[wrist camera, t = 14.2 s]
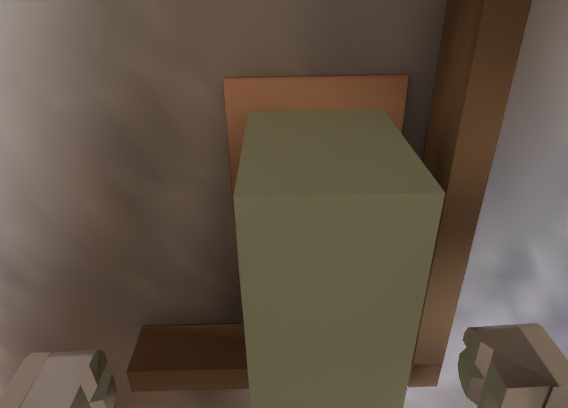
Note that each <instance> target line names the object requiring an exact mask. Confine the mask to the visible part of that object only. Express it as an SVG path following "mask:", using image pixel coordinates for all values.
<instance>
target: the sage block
mask: <svg viewBox="0 0 568 408" xmlns="http://www.w3.org/2000/svg"><path fill="white" fill-rule="evenodd" d="M444 196H445V192H444V190H443V189H442V188H441V186H440V185H439V184H438V182H437V181H436V180H435V178H434V177H433V176H432V174H431V173H430V172H429V170H428V169H427V168H426V166H425V165H424V164H423V162H422V161H421V159H420V158H419V157H418V155H417V154H416V153H415V151H414V150H413V149H412V147H411V146H410V145H409V143H408V142H407V141H406V139H405V138H404V137H403V135H402V134H401V133H400V131H399V130H398V128H397V127H396V126H395V124H394V123H393V122H392V120H391V119H390V118H389V116H388V115H387V114H386V112H385V111H384V110H383V108H380V109H329V110H277V111H248V116H247V121H246V127H245V133H244V139H243V145H242V151H241V156H240V162H239V168H238V174H237V180H236V186H235V191H234V210H235V222H236V234H237V246H238V258H239V271H240V283H241V295H242V307H243V319H244V332H245V344H246V356H247V368H248V380H249V392H250V405H251V408H403V405H404V400H405V395H406V390H407V385H408V380H409V375H410V369H411V364H412V359H413V354H414V349H415V344H416V339H417V334H418V329H419V324H420V319H421V313H422V308H423V303H424V298H425V293H426V288H427V283H428V278H429V273H430V268H431V263H432V257H433V252H434V247H435V242H436V237H437V232H438V227H439V222H440V217H441V212H442V207H443V201H444Z"/></svg>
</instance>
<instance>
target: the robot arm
mask: <svg viewBox="0 0 568 408" xmlns="http://www.w3.org/2000/svg"><path fill="white" fill-rule="evenodd" d="M463 341H464V343H465V345H466V347H467V348H466V349H465V350H463V351H462V352H461V353H460V355H459V361H458V371H459V378H460V382H461V385H462V388H463V390H464V392H465V394H466V397H467V398H469V399H470V400H471V401H473V402H474V403H475V404H476V405H478V407H477V408H568V360H567V358H566V357H565V356H564V355H563V353H562V352H561V351H560V349H559V348H558V347H557V345H556V344H555V343H554V341H553V340H552V339H551V338H550V336H549V335H548V334H547V332H546V331H545V330H544V328H543V327H542V326H540V325H539V324H537V323H530V324H515V325H497V326H483V327H469V328H468V329H467V330H466V331H465V334H464V338H463ZM106 363H107V359H106V357H105V354H104V352H103V351H100V350H88V351H58V352H40V353H31V354H30V355H28V356H27V357H26V358H25V359H24V360H23V362H22V363H21V365H20V367H19V368H18V370H17V371H16V373H15V375H14V376H13V378H12V380H11V381H10V383H9V384H8V386H7V388H6V389H5V391H4V393H3V394H2V396H1V397H0V408H114V404H115V396H116V388H115V381H114V378H113V375H112V374H111V373H109V372H108V371H106V370H105V369H104V368H105V366H106Z"/></svg>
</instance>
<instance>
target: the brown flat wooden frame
mask: <svg viewBox="0 0 568 408" xmlns="http://www.w3.org/2000/svg"><path fill="white" fill-rule="evenodd" d="M531 2H532V0H448V4H447V11H446V17H445V23H444V29H443V36H442V42H441V48H440V55H439V61H438V67H437V74H436V80H435V86H434V92H433V99H432V105H431V111H430V118H429V124H428V130H427V137H426V143H425V149H424V156H423V164H424V165H425V166H426V168H427V169H428V170H429V172H430V173H431V174H432V176H433V177H434V178H435V180H436V181H437V182H438V184H439V185H440V186H441V188H442V189H443V190H444V192H445V196H444V201H443V207H442V212H441V217H440V222H439V227H438V232H437V237H436V242H435V247H434V252H433V257H432V263H431V268H430V273H429V278H428V283H427V288H426V293H425V298H424V303H423V308H422V313H421V319H420V324H419V329H418V334H417V339H416V344H415V349H414V354H413V359H412V364H411V369H410V375H409V380H408V387H426V386H437V383H438V379H439V375H440V371H441V367H442V363H443V359H444V355H445V351H446V347H447V343H448V339H449V335H450V331H451V327H452V323H453V319H454V314H455V310H456V306H457V302H458V298H459V294H460V290H461V286H462V282H463V278H464V274H465V270H466V266H467V262H468V258H469V254H470V250H471V246H472V242H473V237H474V233H475V229H476V225H477V221H478V217H479V213H480V209H481V205H482V201H483V197H484V193H485V189H486V185H487V181H488V177H489V173H490V169H491V164H492V160H493V156H494V152H495V148H496V144H497V140H498V136H499V132H500V128H501V124H502V120H503V116H504V112H505V108H506V104H507V100H508V96H509V91H510V87H511V83H512V79H513V75H514V71H515V67H516V63H517V59H518V55H519V51H520V47H521V43H522V39H523V35H524V31H525V27H526V23H527V18H528V14H529V10H530V6H531ZM408 78H409V77H408V76H407V75H364V76H314V77H264V78H224V79H223V87H224V99H225V111H226V123H227V135H228V147H229V158H230V170H231V182H232V194H233V206H234V191H235V186H236V180H237V174H238V168H239V162H240V156H241V151H242V145H243V139H244V133H245V127H246V121H247V116H248V111H277V110H329V109H380V108H383V110H384V111H385V112H386V114H387V115H388V116H389V118H390V119H391V120H392V122H393V123H394V124H395V126H396V127H397V128H398V130H399V131H400V133H402V125H403V118H404V110H405V102H406V94H407V86H408ZM234 218H235V210H234ZM235 230H236V222H235ZM236 241H237V234H236ZM237 253H238V246H237ZM238 265H239V258H238ZM239 277H240V271H239ZM240 289H241V283H240ZM241 301H242V295H241ZM242 312H243V307H242ZM126 373H127V376H128V379H129V383H130V386H131V390H132V392H133V391H169V390H205V389H242V388H249V380H248V368H247V356H246V344H245V332H244V323H242V324H204V325H166V326H143V327H142V330H141V333H140V336H139V338H138V341H137V344H136V347H135V349H134V352H133V355H132V358H131V361H130V363H129V366H128V369H127V372H126Z"/></svg>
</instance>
